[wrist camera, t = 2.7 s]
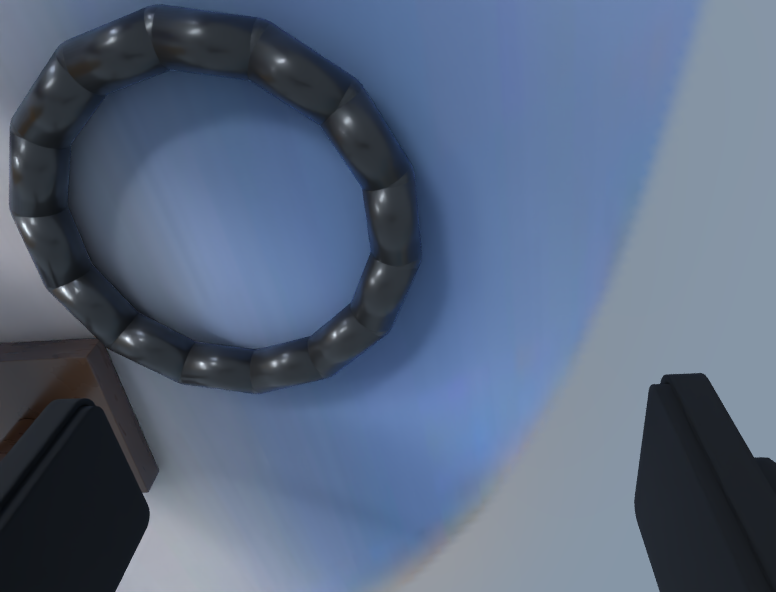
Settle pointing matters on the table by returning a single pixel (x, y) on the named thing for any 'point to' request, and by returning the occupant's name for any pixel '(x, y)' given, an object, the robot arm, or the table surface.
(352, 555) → the table surface
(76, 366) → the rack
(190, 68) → the beaded ring
